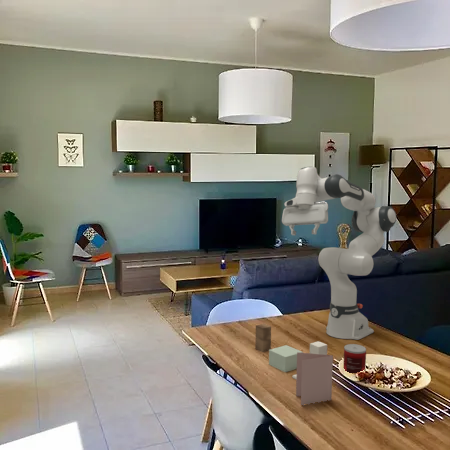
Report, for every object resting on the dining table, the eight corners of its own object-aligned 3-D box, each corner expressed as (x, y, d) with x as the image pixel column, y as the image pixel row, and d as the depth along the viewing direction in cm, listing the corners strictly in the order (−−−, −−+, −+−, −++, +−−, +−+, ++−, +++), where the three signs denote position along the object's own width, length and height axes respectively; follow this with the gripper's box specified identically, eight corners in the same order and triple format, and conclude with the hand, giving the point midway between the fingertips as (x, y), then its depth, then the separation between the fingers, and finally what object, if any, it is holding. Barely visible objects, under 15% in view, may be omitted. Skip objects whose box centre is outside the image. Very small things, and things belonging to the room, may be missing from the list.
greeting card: (331, 398, 164) (332, 354, 162) (330, 409, 157) (332, 363, 155) (296, 394, 167) (297, 351, 165) (294, 405, 159) (295, 359, 158)
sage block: (286, 359, 197) (286, 345, 197) (302, 367, 190) (302, 351, 189) (268, 365, 192) (269, 349, 191) (285, 372, 185) (285, 357, 184)
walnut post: (263, 346, 211) (264, 323, 210) (270, 349, 207) (271, 326, 206) (255, 348, 208) (255, 325, 207) (262, 352, 205) (262, 328, 204)
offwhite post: (317, 366, 190) (318, 341, 189) (326, 370, 187) (327, 344, 185) (309, 369, 188) (309, 343, 186) (318, 373, 184) (318, 347, 183)
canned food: (356, 371, 186) (358, 342, 185) (369, 380, 178) (370, 350, 177) (338, 374, 183) (339, 345, 182) (350, 383, 176) (352, 352, 175)
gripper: (331, 203, 210) (329, 235, 207) (288, 206, 222) (285, 237, 219) (325, 198, 205) (323, 231, 202) (281, 202, 217) (278, 233, 214)
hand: (303, 234), depth 211 cm, fingers open, 8 cm apart
